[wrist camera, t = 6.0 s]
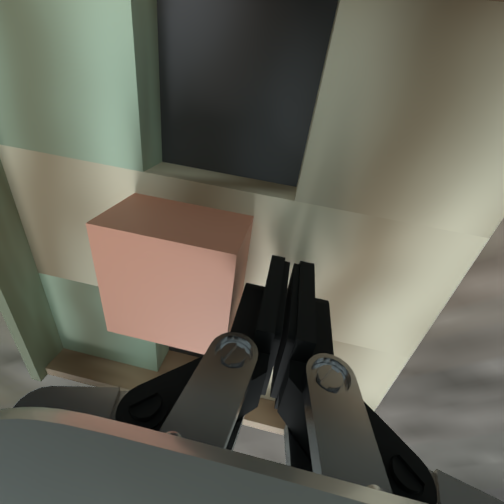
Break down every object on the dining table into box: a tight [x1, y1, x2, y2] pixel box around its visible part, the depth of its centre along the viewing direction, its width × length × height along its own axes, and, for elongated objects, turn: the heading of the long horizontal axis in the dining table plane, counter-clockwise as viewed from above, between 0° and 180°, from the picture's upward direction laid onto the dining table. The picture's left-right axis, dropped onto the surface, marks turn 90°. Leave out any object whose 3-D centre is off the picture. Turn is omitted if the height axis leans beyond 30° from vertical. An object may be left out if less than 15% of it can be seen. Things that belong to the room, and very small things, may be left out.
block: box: [86, 193, 254, 354], centre depth 11 cm, size 5×5×3 cm
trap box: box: [0, 0, 504, 435], centre depth 13 cm, size 20×20×4 cm
